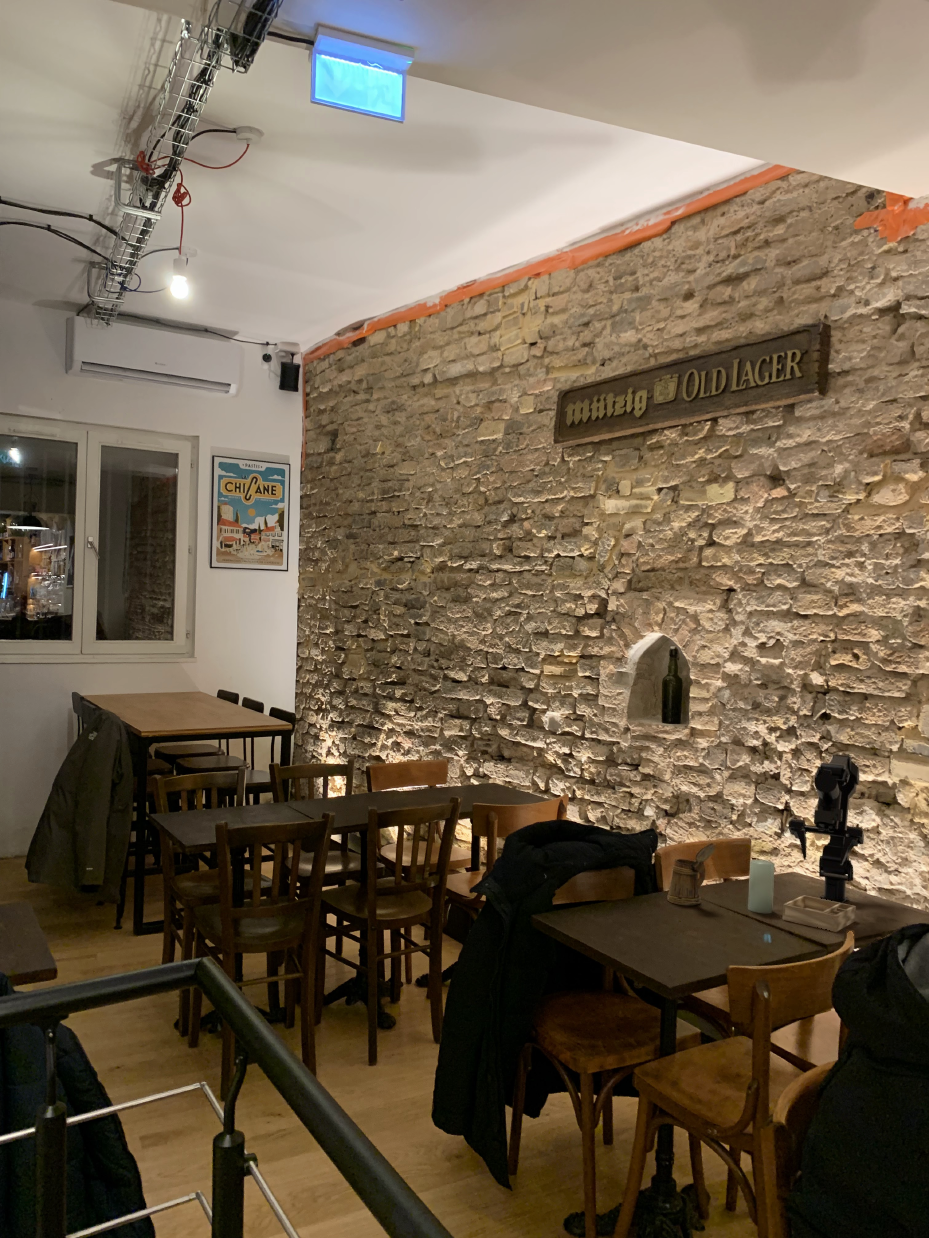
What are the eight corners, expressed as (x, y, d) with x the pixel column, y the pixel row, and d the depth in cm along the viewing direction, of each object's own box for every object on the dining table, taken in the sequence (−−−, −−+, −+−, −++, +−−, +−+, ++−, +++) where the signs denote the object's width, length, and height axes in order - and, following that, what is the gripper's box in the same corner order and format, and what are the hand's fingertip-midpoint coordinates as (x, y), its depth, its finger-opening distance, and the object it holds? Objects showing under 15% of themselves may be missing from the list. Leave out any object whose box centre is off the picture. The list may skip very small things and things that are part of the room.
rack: (803, 909, 265) (803, 895, 265) (855, 921, 256) (855, 906, 256) (782, 919, 254) (783, 904, 254) (836, 931, 245) (836, 916, 245)
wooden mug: (698, 911, 257) (702, 844, 257) (660, 899, 268) (663, 834, 268) (719, 907, 262) (723, 841, 263) (681, 895, 273) (684, 832, 273)
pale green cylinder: (753, 905, 267) (755, 858, 267) (776, 910, 263) (778, 862, 263) (744, 909, 262) (746, 861, 262) (766, 914, 258) (769, 866, 258)
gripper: (789, 791, 260) (782, 846, 253) (863, 800, 251) (857, 857, 244) (794, 806, 268) (787, 860, 261) (866, 815, 260) (861, 871, 253)
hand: (822, 861), depth 255 cm, fingers open, 9 cm apart
